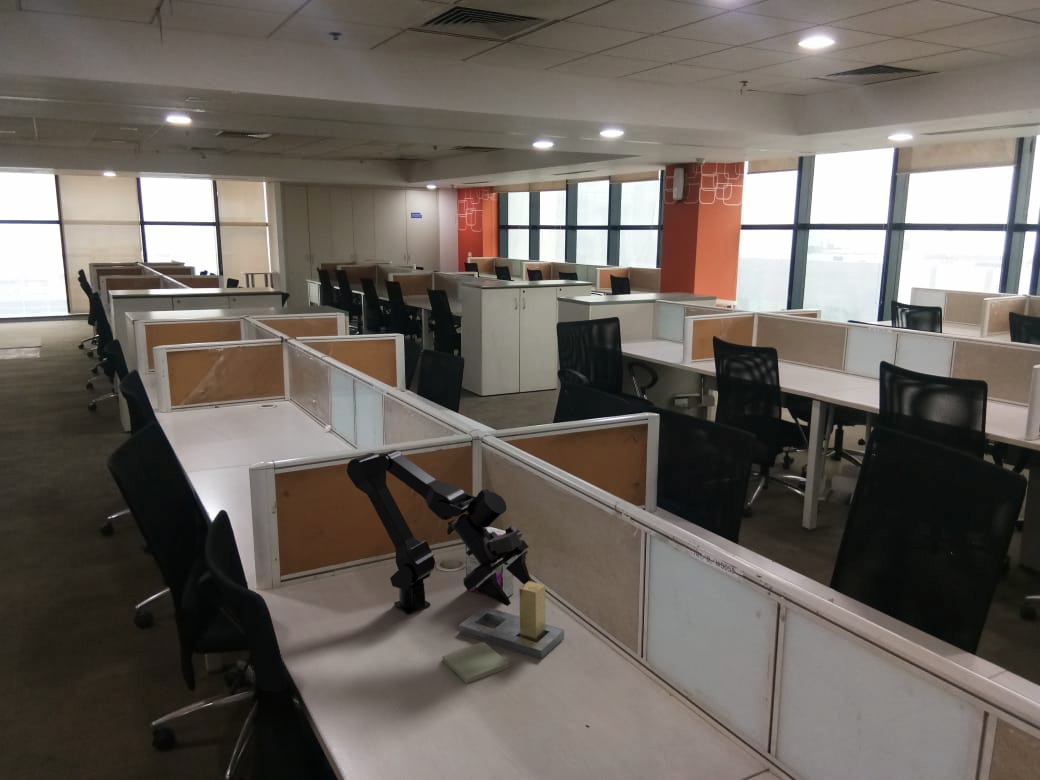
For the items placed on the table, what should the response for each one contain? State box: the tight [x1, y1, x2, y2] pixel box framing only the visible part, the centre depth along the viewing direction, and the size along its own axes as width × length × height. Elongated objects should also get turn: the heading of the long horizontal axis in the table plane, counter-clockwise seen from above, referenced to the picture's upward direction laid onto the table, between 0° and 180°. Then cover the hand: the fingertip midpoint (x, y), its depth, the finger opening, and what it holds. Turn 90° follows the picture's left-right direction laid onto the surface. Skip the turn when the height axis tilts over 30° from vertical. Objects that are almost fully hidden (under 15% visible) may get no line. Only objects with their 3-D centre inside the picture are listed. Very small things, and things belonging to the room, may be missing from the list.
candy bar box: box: [465, 526, 514, 598], centre depth 189 cm, size 11×5×16 cm, turn 58°
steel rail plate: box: [458, 606, 565, 660], centre depth 170 cm, size 21×10×2 cm, turn 59°
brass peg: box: [519, 580, 546, 643], centre depth 166 cm, size 4×4×13 cm
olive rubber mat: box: [442, 641, 510, 684], centre depth 159 cm, size 10×10×1 cm
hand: (520, 595), depth 167 cm, fingers open, 9 cm apart
